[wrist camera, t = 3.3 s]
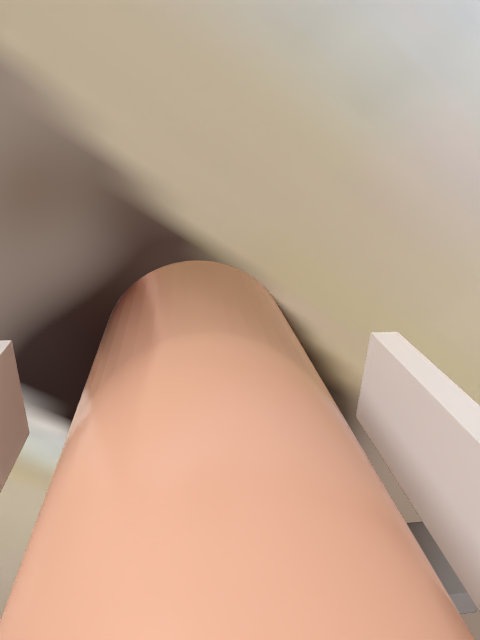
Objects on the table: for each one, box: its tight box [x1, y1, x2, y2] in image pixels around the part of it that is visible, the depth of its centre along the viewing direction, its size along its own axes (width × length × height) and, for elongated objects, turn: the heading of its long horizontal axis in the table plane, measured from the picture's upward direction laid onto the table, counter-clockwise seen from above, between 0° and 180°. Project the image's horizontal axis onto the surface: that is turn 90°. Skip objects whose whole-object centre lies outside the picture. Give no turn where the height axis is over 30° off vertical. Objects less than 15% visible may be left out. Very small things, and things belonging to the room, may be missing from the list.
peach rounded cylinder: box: [0, 260, 475, 640], centre depth 8 cm, size 6×6×12 cm
